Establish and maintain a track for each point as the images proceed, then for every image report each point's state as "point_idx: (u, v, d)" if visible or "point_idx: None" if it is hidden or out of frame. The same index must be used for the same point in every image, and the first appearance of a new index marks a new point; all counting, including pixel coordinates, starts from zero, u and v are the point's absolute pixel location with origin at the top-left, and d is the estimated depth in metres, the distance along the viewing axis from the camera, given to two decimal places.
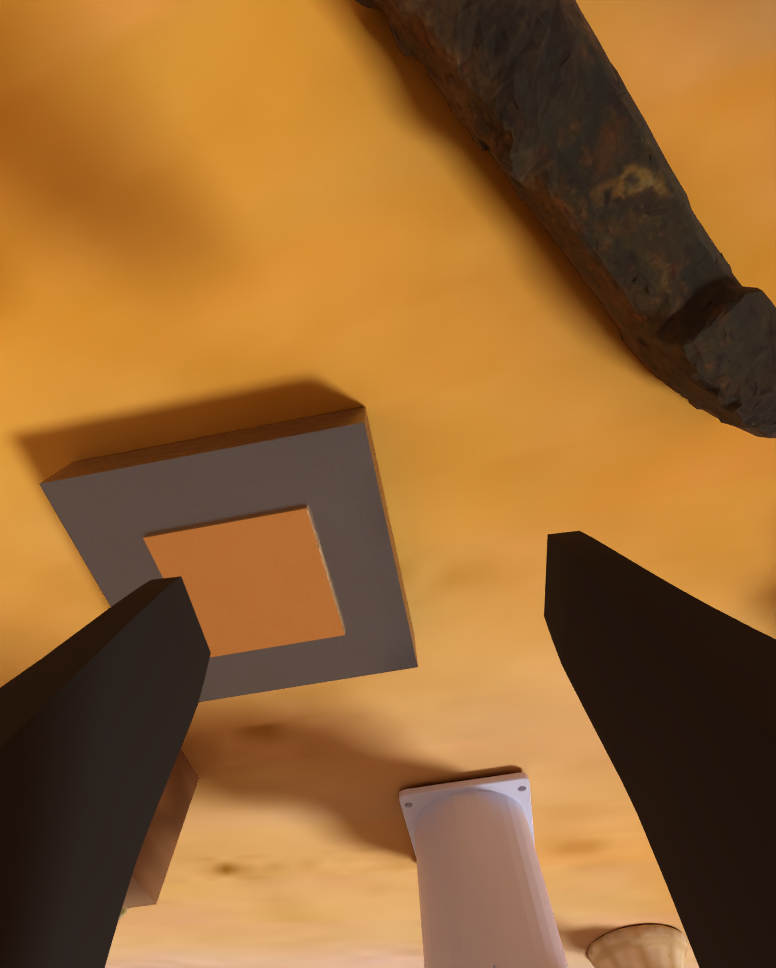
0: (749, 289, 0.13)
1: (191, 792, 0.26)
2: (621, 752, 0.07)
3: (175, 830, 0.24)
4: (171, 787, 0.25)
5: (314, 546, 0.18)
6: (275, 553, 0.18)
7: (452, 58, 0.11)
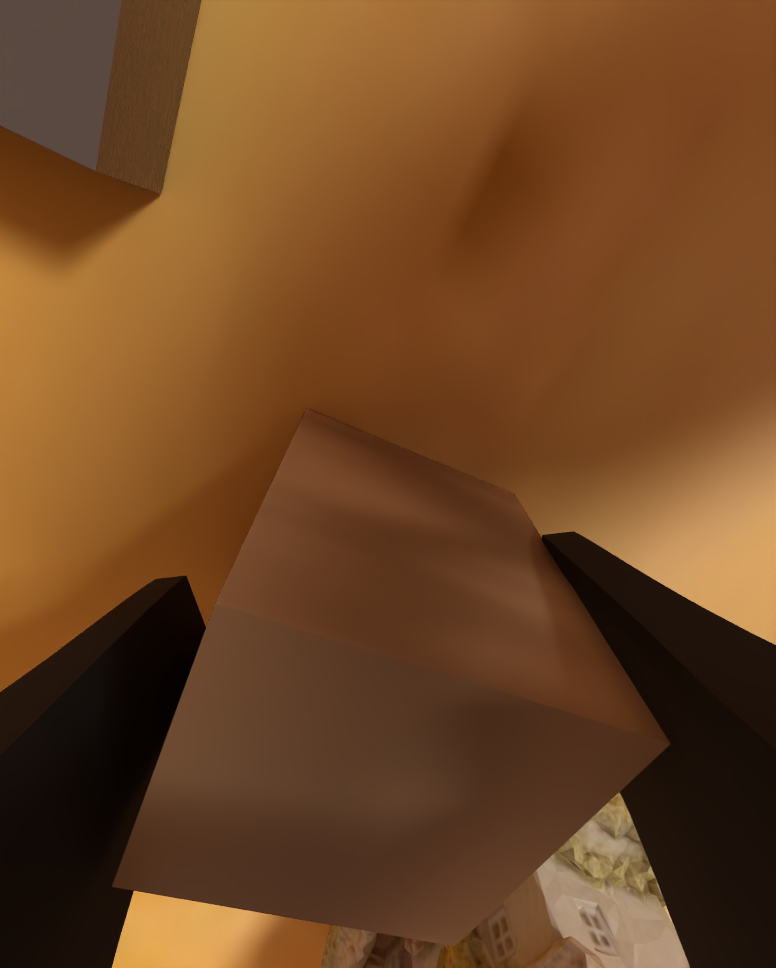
0: None
1: (518, 511, 0.09)
2: None
3: (540, 568, 0.07)
4: (435, 496, 0.08)
5: None
6: None
7: None
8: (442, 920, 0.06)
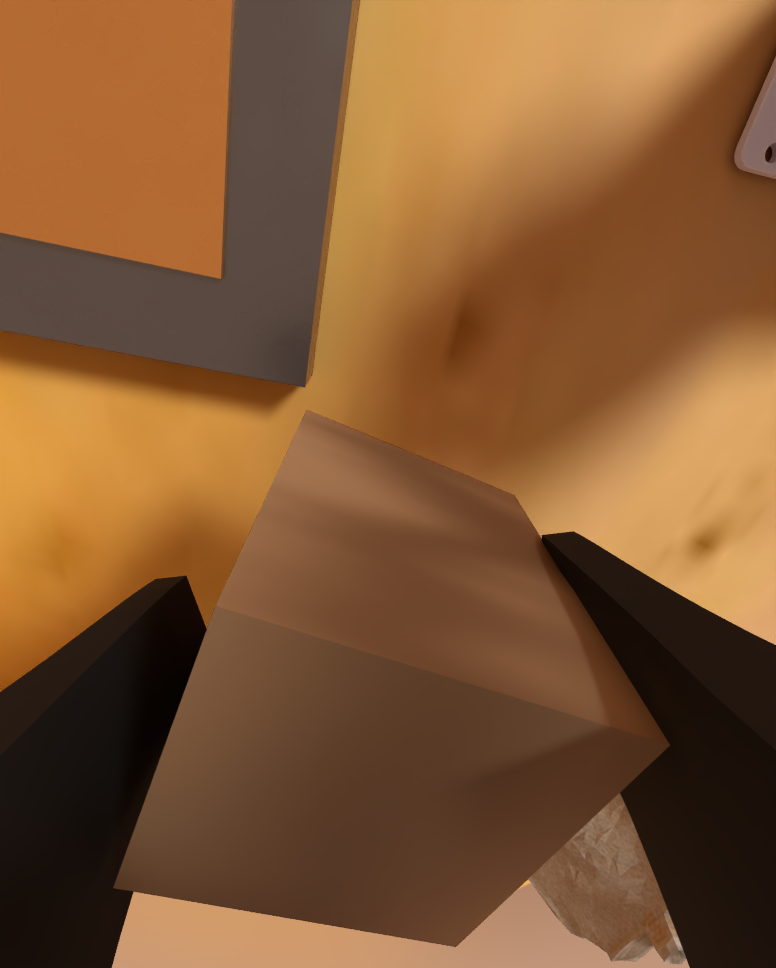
0: None
1: (518, 512, 0.09)
2: None
3: (540, 569, 0.07)
4: (435, 498, 0.08)
5: None
6: (31, 28, 0.11)
7: None
8: (443, 921, 0.06)
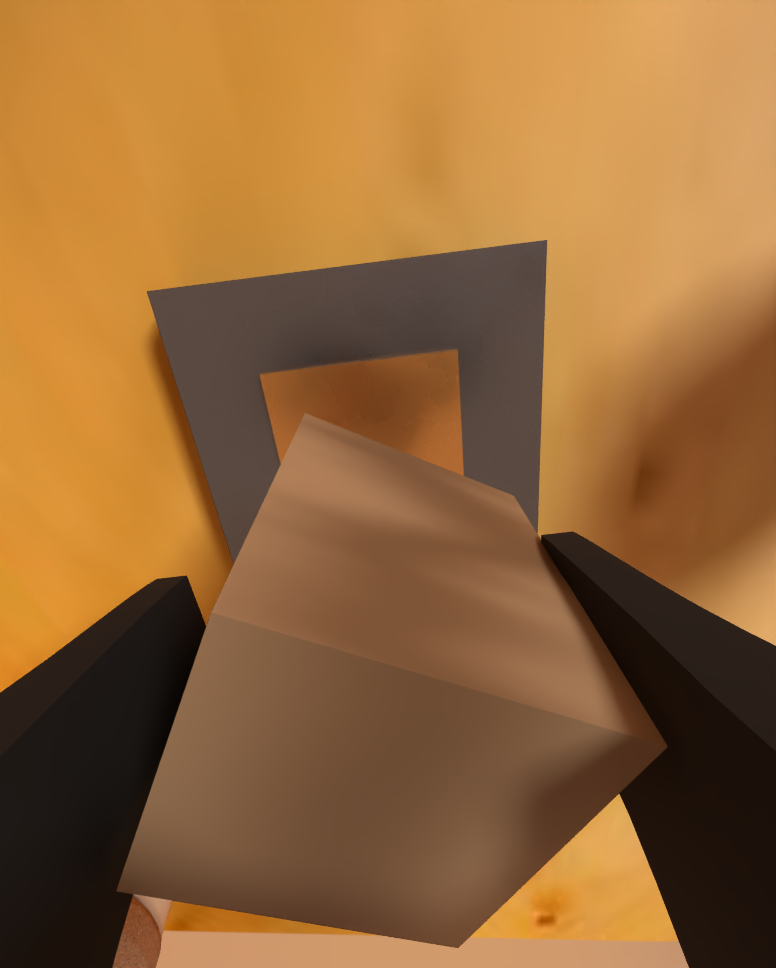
0: None
1: (517, 513, 0.09)
2: None
3: (538, 570, 0.07)
4: (433, 500, 0.08)
5: (313, 372, 0.15)
6: (321, 418, 0.15)
7: None
8: (444, 922, 0.07)
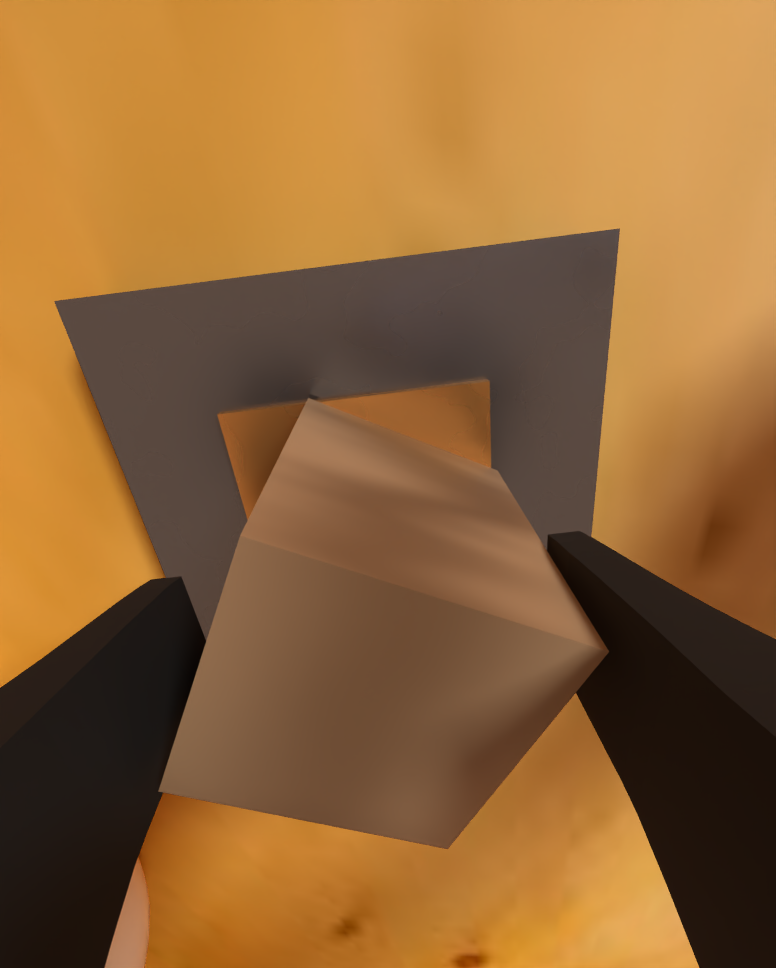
0: None
1: (499, 484, 0.11)
2: (621, 752, 0.07)
3: (513, 527, 0.09)
4: (423, 470, 0.09)
5: (291, 410, 0.11)
6: None
7: None
8: (435, 822, 0.08)
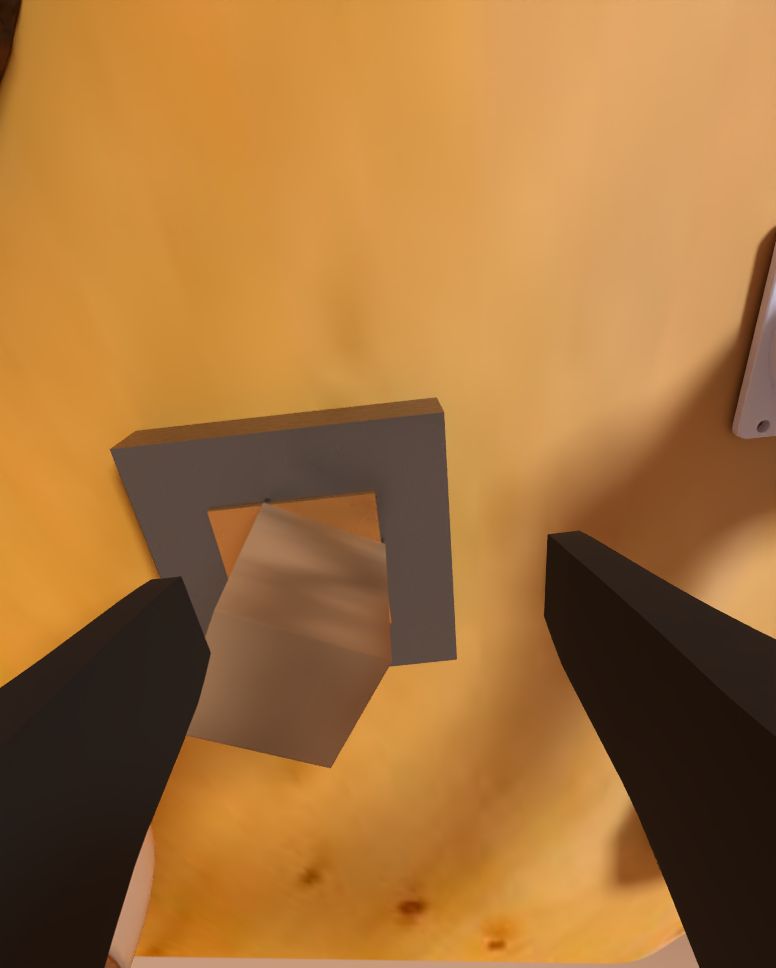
0: None
1: (380, 555, 0.17)
2: (621, 752, 0.07)
3: (373, 589, 0.15)
4: (327, 553, 0.16)
5: (253, 509, 0.17)
6: None
7: None
8: (321, 752, 0.14)
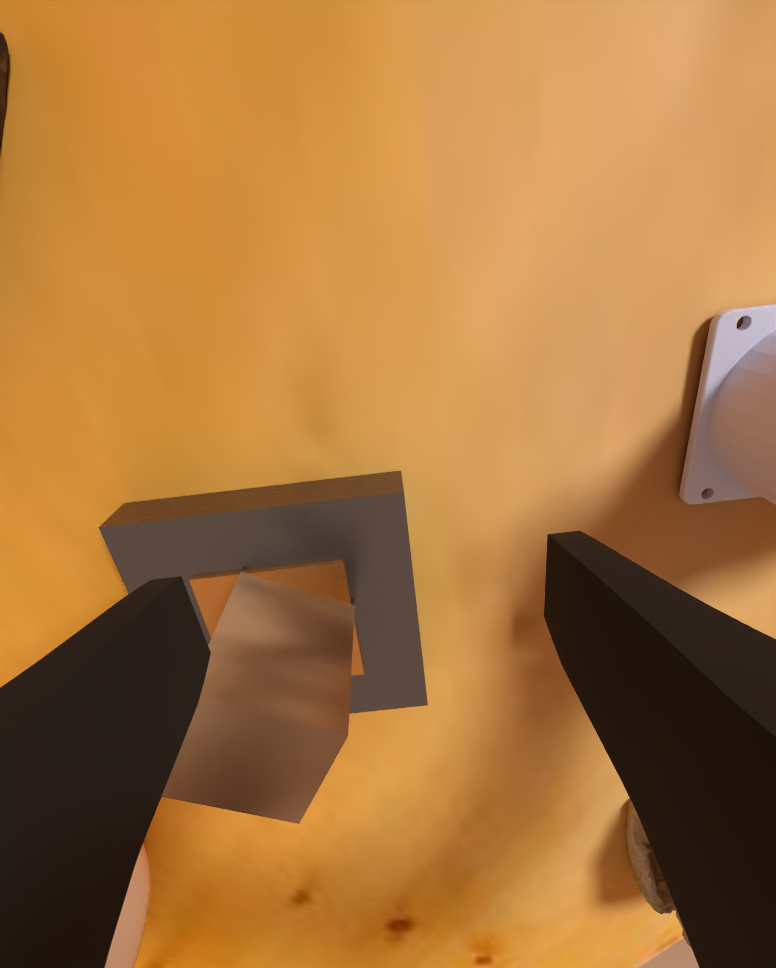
0: None
1: (349, 619, 0.19)
2: (621, 752, 0.07)
3: (338, 658, 0.17)
4: (297, 622, 0.17)
5: (231, 577, 0.19)
6: None
7: None
8: (289, 810, 0.16)
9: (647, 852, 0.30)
